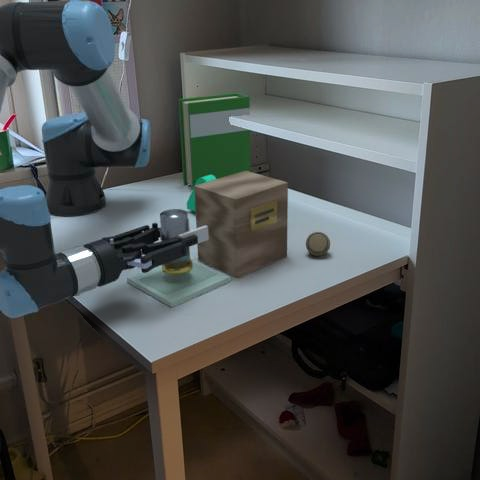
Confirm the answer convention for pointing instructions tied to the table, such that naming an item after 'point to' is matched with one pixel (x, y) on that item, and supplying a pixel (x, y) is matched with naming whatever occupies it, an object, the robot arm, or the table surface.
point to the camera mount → (192, 197)
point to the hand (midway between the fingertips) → (197, 228)
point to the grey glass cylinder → (170, 229)
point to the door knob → (317, 243)
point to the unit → (242, 222)
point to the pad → (178, 283)
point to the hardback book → (213, 136)
